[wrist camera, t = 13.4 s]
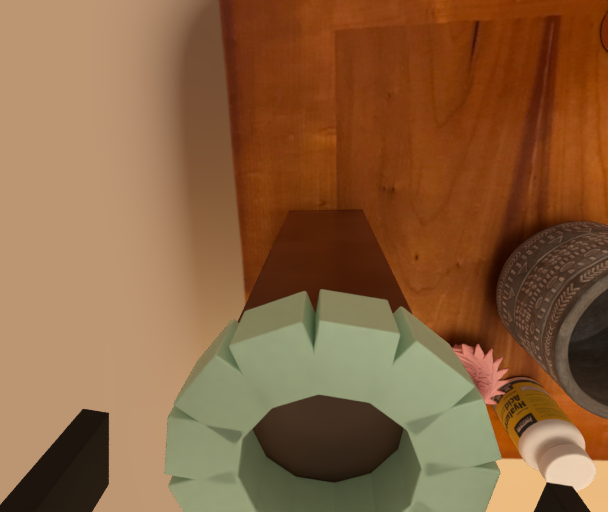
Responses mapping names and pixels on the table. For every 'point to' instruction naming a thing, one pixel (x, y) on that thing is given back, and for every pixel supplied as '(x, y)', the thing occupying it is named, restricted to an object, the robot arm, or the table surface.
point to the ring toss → (605, 32)
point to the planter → (562, 307)
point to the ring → (336, 383)
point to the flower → (482, 370)
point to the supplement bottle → (544, 433)
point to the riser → (312, 278)
